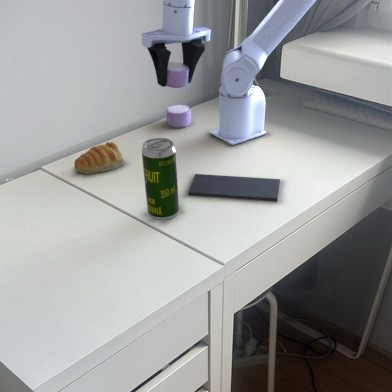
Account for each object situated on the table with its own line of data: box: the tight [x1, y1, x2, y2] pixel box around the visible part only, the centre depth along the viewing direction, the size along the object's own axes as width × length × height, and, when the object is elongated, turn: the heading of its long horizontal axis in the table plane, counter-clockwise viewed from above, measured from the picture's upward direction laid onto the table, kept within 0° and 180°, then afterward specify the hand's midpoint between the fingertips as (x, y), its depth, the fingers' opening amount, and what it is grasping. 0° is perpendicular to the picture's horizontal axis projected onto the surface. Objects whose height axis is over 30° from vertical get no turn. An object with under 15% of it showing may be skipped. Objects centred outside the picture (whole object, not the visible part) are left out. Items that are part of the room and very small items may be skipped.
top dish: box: [166, 61, 189, 89], centre depth 102 cm, size 6×6×3 cm
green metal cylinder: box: [141, 137, 180, 221], centre depth 83 cm, size 5×5×12 cm
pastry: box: [74, 141, 125, 175], centre depth 99 cm, size 9×7×4 cm
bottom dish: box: [165, 104, 192, 129], centre depth 113 cm, size 6×6×3 cm
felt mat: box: [187, 173, 281, 202], centre depth 92 cm, size 16×7×1 cm, turn 80°
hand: (174, 83), depth 103 cm, fingers closed on top dish, 5 cm apart
